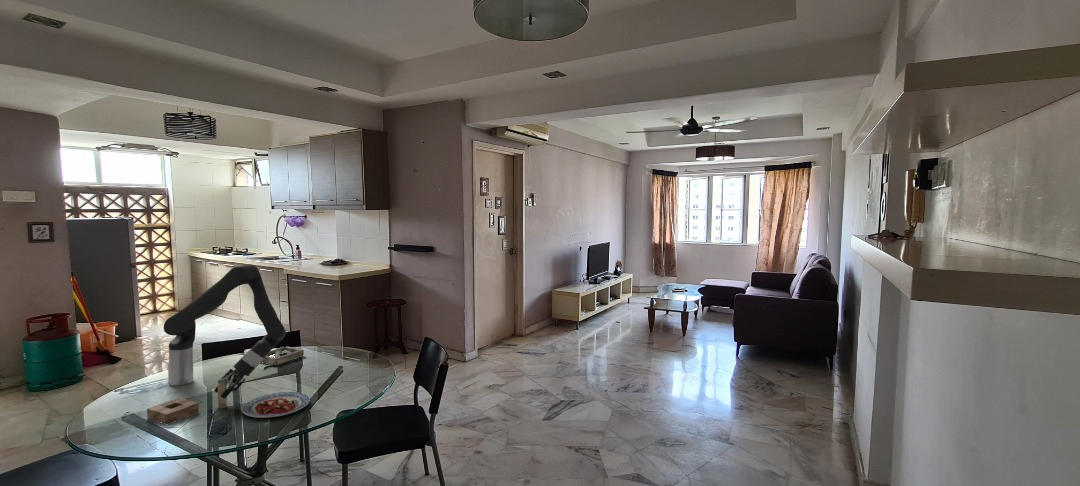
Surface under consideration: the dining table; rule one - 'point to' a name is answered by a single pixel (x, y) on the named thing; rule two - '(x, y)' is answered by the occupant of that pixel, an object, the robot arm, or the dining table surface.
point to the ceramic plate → (275, 404)
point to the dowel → (221, 388)
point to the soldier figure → (277, 354)
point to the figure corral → (284, 358)
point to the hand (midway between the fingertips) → (218, 394)
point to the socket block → (172, 410)
